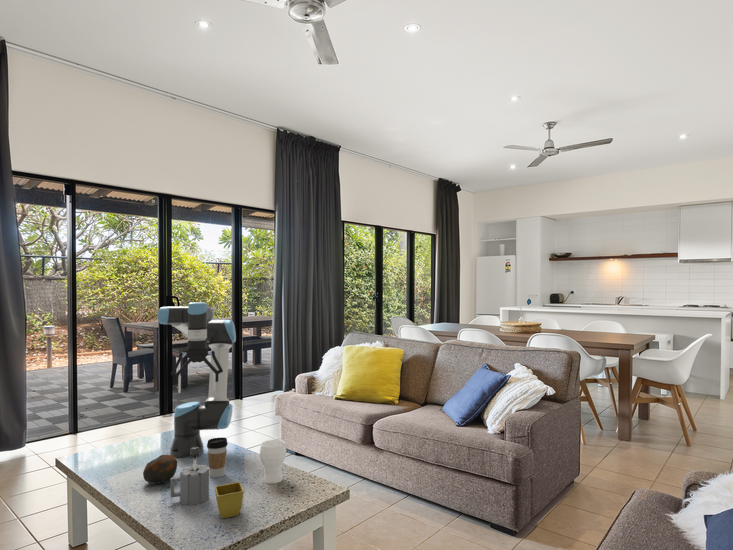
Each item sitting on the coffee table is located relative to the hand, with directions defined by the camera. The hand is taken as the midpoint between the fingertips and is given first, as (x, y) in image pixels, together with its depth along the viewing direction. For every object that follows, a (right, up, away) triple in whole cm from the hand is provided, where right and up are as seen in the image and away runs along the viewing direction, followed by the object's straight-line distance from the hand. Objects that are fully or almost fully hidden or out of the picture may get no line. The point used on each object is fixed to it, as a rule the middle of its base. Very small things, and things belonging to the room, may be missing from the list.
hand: (197, 391), depth 192 cm
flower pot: (+22, -36, -30) cm, 52 cm away
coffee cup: (+7, -37, +5) cm, 38 cm away
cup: (+32, -37, -1) cm, 48 cm away
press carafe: (+4, -36, -18) cm, 40 cm away
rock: (-14, -37, -2) cm, 40 cm away
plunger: (+5, -34, -17) cm, 38 cm away
